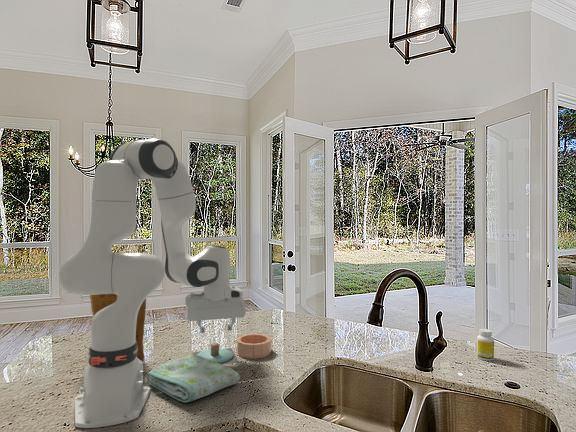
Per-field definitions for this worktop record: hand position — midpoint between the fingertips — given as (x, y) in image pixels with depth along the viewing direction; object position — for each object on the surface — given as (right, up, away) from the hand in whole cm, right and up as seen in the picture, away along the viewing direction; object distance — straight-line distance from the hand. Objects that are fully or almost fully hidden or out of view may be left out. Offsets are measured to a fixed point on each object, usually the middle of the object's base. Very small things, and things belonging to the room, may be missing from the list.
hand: (216, 331), depth 134 cm
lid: (0, -9, -1) cm, 9 cm away
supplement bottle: (+94, -10, +2) cm, 94 cm away
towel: (-3, -9, -22) cm, 24 cm away
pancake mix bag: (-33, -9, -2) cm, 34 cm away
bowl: (+13, -9, +5) cm, 16 cm away
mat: (0, -9, -1) cm, 9 cm away
